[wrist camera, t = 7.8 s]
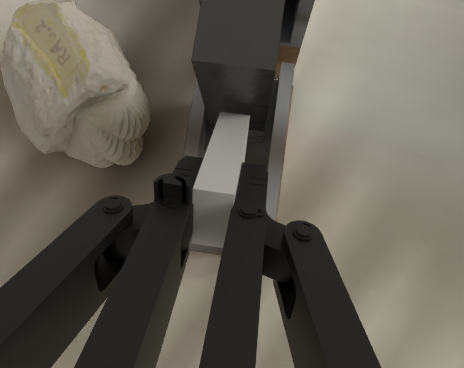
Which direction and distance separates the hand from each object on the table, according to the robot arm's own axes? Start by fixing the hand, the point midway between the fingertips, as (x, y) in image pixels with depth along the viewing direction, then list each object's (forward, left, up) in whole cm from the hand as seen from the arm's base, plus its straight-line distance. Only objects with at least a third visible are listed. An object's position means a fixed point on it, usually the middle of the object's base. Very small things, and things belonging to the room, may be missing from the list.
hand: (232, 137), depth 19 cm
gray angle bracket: (-7, -4, -5) cm, 10 cm away
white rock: (+2, -13, -11) cm, 17 cm away
